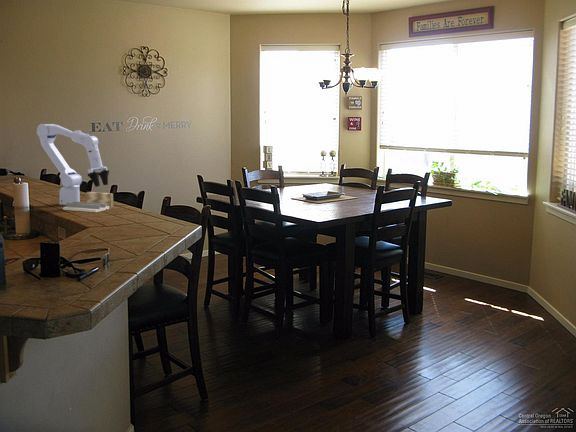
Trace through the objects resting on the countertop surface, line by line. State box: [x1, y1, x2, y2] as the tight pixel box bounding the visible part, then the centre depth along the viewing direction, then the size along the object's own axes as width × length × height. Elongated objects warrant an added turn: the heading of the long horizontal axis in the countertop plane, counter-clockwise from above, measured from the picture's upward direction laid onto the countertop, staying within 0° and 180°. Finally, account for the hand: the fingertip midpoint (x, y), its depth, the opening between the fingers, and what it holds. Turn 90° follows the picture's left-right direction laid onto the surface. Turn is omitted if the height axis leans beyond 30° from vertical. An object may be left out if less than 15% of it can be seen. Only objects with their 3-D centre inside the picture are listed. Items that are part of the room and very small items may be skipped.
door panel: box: [85, 191, 114, 208], centre depth 305 cm, size 14×2×7 cm, turn 75°
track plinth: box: [62, 201, 110, 213], centre depth 294 cm, size 18×12×3 cm, turn 75°
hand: (101, 185), depth 303 cm, fingers open, 7 cm apart
